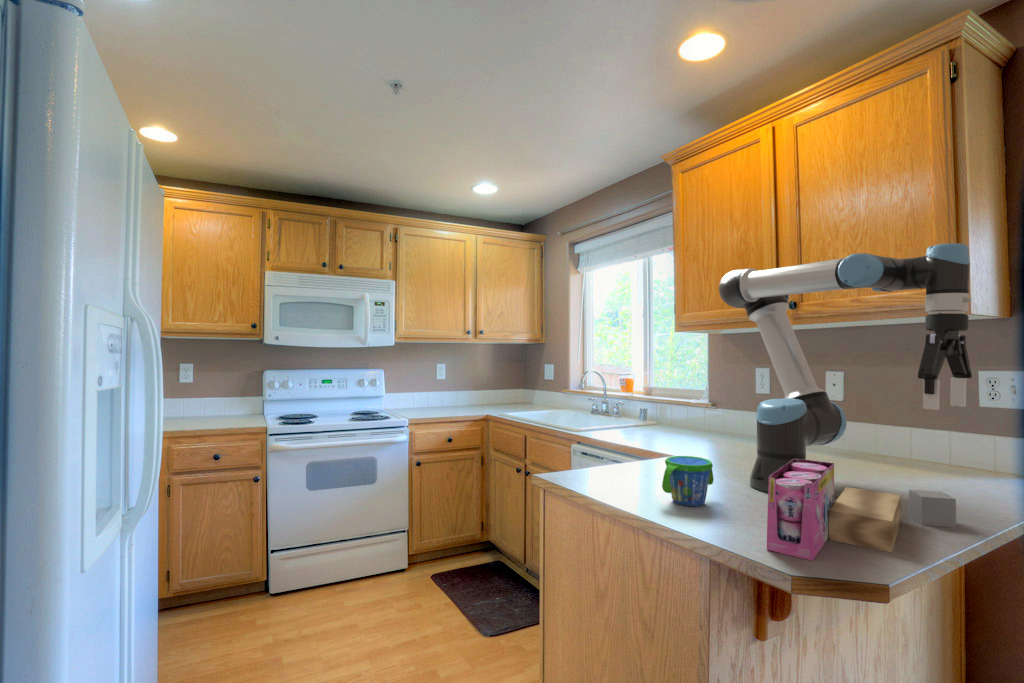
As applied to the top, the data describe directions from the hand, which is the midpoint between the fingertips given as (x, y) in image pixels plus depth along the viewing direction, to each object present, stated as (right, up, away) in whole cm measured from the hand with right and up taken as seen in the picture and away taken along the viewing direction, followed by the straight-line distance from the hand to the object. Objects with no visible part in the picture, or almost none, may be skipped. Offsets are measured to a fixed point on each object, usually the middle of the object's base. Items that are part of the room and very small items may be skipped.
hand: (944, 407), depth 119 cm
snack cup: (-55, -24, +8) cm, 61 cm away
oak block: (-25, -24, -11) cm, 36 cm away
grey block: (-7, -24, -5) cm, 25 cm away
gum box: (-41, -24, -16) cm, 50 cm away
